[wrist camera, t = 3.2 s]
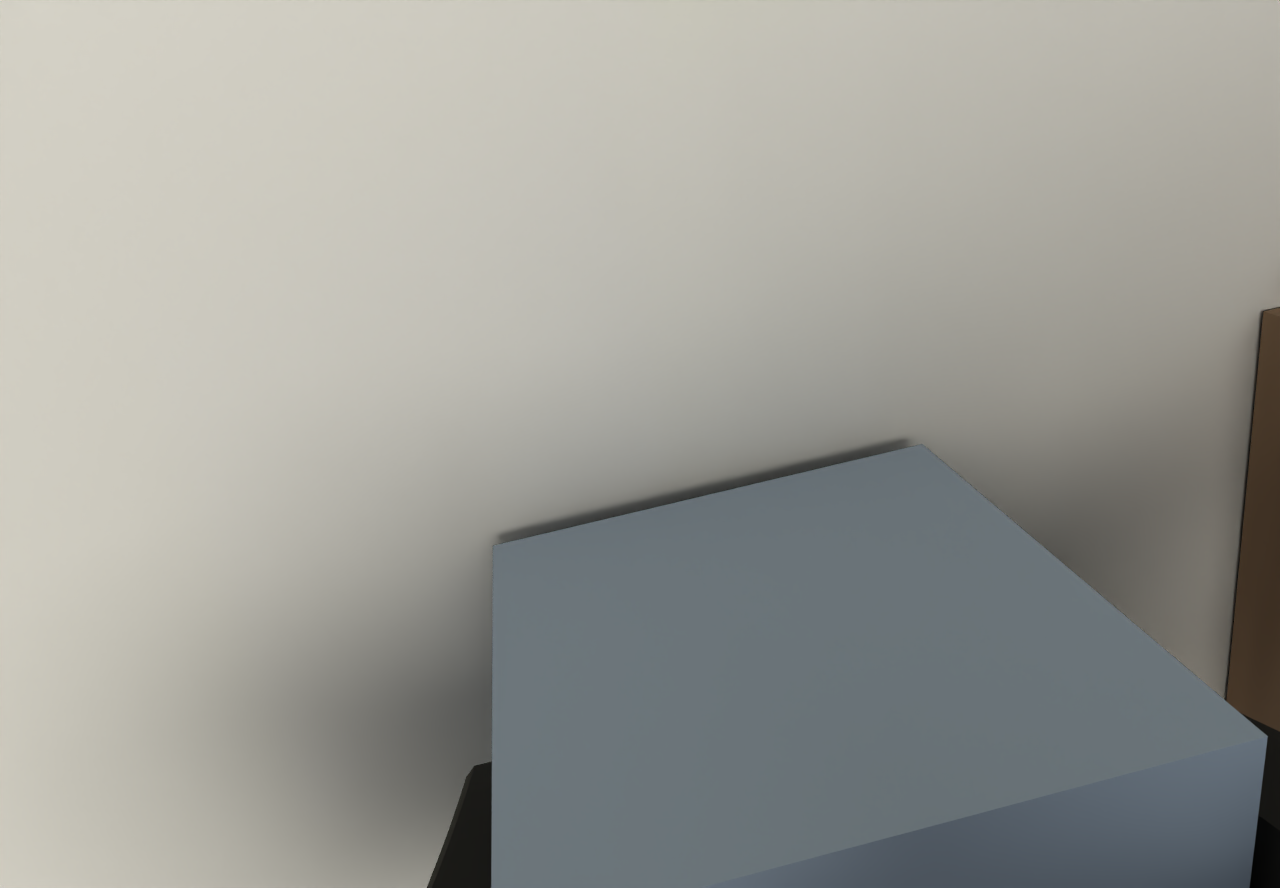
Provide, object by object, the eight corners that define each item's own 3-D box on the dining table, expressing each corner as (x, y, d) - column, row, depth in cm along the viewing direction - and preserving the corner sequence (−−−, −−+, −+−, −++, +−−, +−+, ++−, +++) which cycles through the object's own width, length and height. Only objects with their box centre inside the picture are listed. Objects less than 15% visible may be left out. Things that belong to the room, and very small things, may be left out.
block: (922, 444, 10) (1269, 736, 6) (943, 774, 12) (1213, 1189, 8) (492, 545, 10) (490, 943, 5) (585, 868, 12) (642, 1362, 7)
